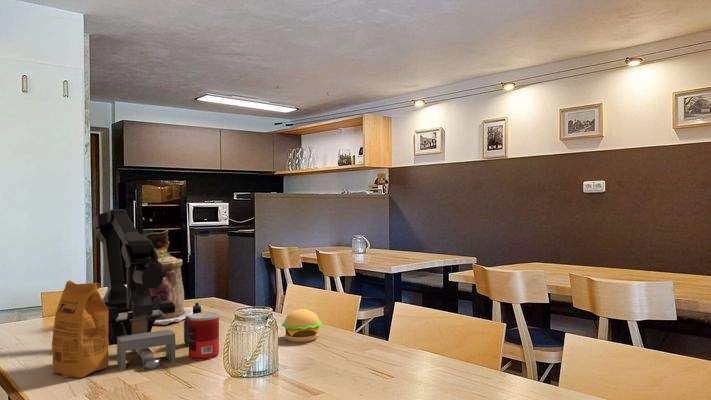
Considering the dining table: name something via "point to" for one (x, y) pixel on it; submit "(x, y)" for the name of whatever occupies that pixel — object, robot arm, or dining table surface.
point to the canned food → (203, 335)
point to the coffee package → (80, 331)
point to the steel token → (151, 364)
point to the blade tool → (137, 328)
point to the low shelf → (145, 344)
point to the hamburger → (301, 326)
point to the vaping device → (186, 330)
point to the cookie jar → (168, 281)
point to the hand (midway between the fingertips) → (138, 341)
